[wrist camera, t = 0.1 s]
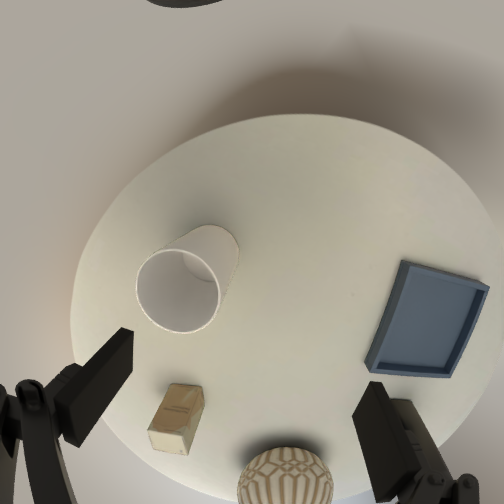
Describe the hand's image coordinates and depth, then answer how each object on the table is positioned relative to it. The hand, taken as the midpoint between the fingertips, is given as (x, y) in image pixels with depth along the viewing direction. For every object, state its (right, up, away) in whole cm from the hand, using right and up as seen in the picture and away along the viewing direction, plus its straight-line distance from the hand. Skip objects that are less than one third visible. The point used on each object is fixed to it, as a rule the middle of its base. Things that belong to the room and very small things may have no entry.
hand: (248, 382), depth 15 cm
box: (-10, -15, +28) cm, 33 cm away
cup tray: (+26, -3, +23) cm, 34 cm away
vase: (+6, -31, +30) cm, 44 cm away
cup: (-5, +7, +23) cm, 24 cm away
